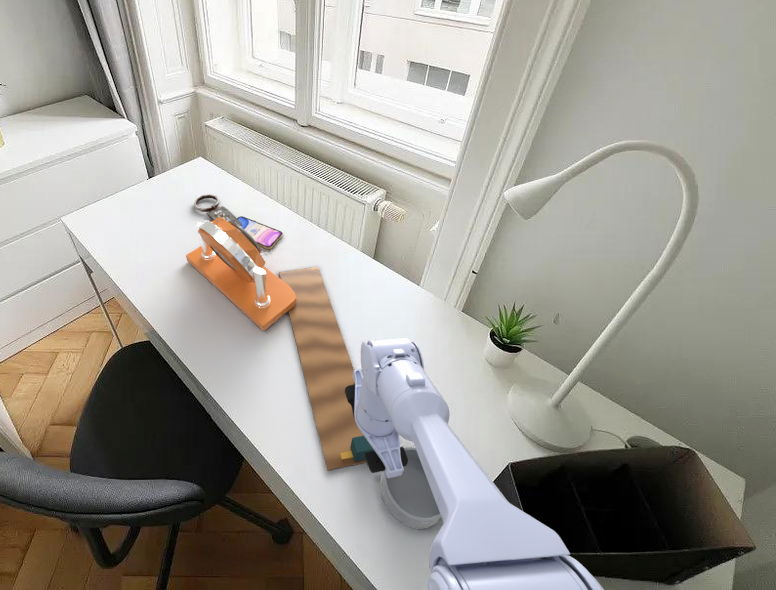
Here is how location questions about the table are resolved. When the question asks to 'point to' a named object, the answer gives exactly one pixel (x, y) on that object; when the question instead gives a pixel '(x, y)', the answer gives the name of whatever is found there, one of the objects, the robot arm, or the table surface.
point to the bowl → (410, 494)
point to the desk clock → (240, 271)
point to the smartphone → (261, 232)
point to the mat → (323, 364)
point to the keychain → (216, 210)
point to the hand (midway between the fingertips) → (368, 442)
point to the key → (357, 449)
